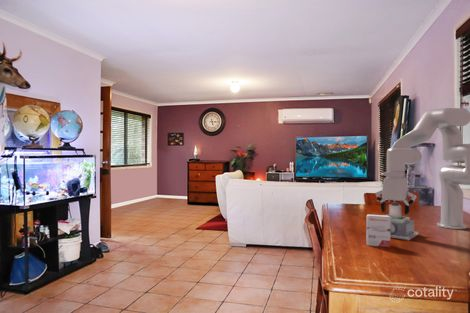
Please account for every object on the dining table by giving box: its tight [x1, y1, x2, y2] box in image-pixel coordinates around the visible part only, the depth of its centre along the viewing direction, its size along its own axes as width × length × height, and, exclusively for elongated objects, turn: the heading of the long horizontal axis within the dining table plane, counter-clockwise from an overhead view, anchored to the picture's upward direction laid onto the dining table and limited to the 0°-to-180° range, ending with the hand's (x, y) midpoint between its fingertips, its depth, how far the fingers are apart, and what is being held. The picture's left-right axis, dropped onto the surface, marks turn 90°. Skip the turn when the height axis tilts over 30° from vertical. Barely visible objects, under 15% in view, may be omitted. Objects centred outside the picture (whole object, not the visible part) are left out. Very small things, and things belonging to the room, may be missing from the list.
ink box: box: [365, 214, 392, 248], centre depth 132 cm, size 9×5×12 cm, turn 71°
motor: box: [385, 214, 419, 241], centre depth 151 cm, size 16×16×8 cm
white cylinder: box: [388, 202, 402, 219], centre depth 151 cm, size 5×5×8 cm
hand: (394, 212), depth 151 cm, fingers open, 9 cm apart
